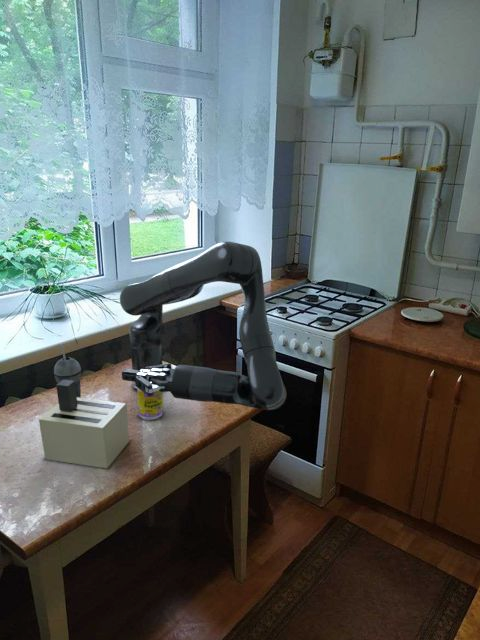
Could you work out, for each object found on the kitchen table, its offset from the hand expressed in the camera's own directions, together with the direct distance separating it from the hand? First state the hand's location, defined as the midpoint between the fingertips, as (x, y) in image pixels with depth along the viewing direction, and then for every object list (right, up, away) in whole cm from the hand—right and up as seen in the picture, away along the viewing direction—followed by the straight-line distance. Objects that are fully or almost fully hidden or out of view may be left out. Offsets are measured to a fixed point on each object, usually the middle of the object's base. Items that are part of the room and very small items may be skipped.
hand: (123, 374), depth 112 cm
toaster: (-11, -19, +10) cm, 25 cm away
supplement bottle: (0, -13, +27) cm, 30 cm away
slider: (-15, -8, +6) cm, 18 cm away
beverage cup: (-23, -11, +29) cm, 39 cm away
